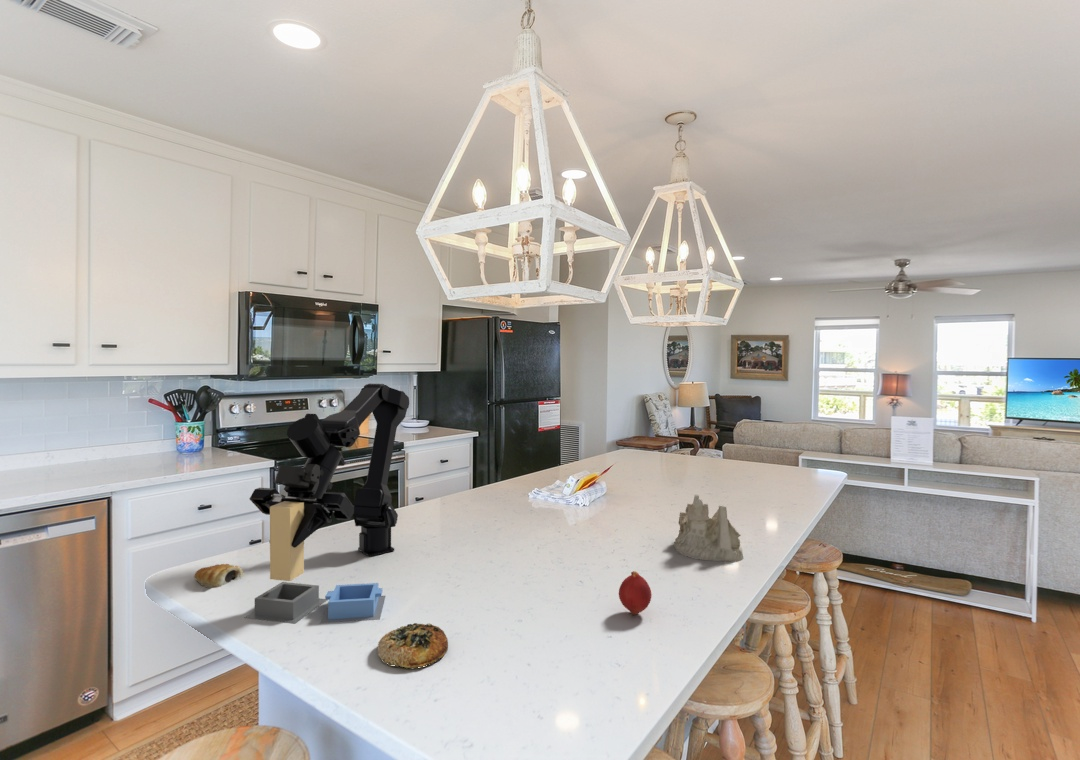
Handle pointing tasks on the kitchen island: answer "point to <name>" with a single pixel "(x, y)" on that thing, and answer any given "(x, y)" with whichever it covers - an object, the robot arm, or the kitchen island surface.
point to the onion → (635, 593)
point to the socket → (287, 603)
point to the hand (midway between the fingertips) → (282, 545)
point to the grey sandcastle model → (707, 534)
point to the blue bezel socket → (354, 603)
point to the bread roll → (413, 645)
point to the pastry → (218, 575)
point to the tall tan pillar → (285, 541)
